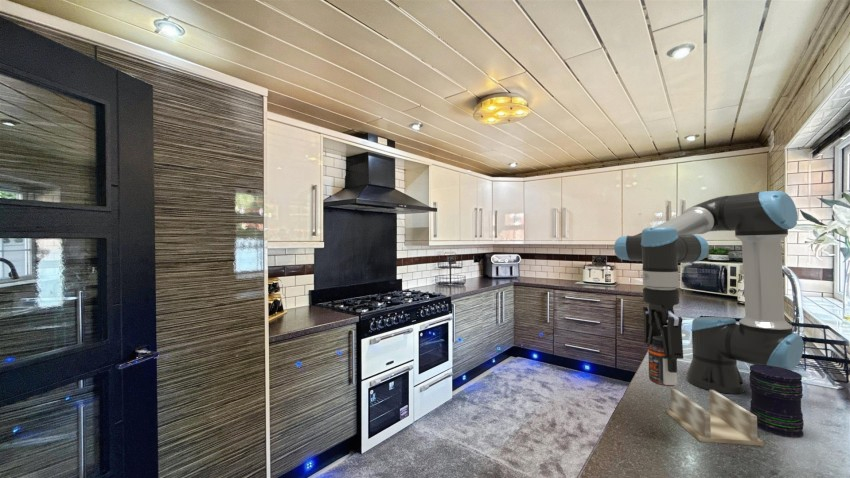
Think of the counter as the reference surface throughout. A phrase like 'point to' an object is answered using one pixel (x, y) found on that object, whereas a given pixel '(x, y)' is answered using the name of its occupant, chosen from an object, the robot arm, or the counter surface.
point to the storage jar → (777, 400)
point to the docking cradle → (715, 419)
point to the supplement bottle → (656, 361)
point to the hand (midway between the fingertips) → (662, 378)
